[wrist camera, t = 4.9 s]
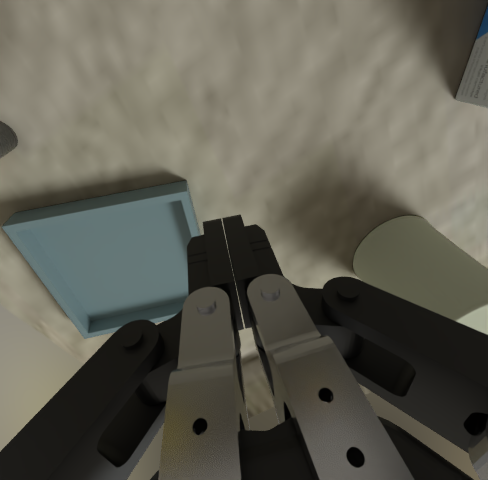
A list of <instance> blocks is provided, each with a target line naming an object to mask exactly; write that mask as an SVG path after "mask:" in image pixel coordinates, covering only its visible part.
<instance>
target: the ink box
mask: <svg viewBox="0 0 488 480" xmlns="http://www.w3.org/2000/svg"><path fill="white" fill-rule="evenodd" d="M456 100H457V101H461V102H465V103H469V104H473V105H477V106H481V107H485V108H488V6H487V9H486V12H485V15H484V18H483V21H482V24H481V26H480V29H479V32H478V35H477V38H476V41H475V44H474V47H473V49H472V52H471V55H470V58H469V61H468V64H467V67H466V69H465V72H464V75H463V78H462V81H461V84H460V86H459V89H458V92H457V95H456Z"/></svg>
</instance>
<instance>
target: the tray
mask: <svg viewBox="0 0 488 480" xmlns="http://www.w3.org/2000/svg"><path fill="white" fill-rule="evenodd" d="M2 228H3V229H4V231H5V232H6V233H7V235H8V236H9V237H10V239H11V240H12V242H13V243H14V244H15V246H16V247H17V248H18V250H19V251H20V252H21V254H22V255H23V256H24V258H25V259H26V260H27V262H28V263H29V264H30V266H31V267H32V268H33V270H34V271H35V273H36V274H37V275H38V277H39V278H40V279H41V281H42V282H43V283H44V285H45V286H46V287H47V289H48V290H49V291H50V293H51V294H52V295H53V297H54V298H55V299H56V301H57V302H58V304H59V305H60V306H61V308H62V309H63V310H64V312H65V313H66V314H67V316H68V317H69V318H70V320H71V321H72V322H73V324H74V325H75V326H76V328H77V329H78V330H79V332H80V333H81V335H82V336H83V337H84V339H86V338H90V337H95V336H99V335H104V334H108V333H113V332H116V331H117V330H118V329H119V328H120V327H122V326H123V325H125V324H127V323H129V322H131V321H135V320H141V319H144V320H149V321H151V322H153V323H157V322H161V321H166V320H168V319H170V318H172V317H173V316H175V315H176V314H178V313H179V312H180V311H181V310H182V309H183V304H184V302H185V300H186V298H187V297H188V266H187V265H188V264H187V258H188V257H187V245H188V243H189V242H190V240H191V238H192V237H195V236H200V231H199V227H198V223H197V219H196V215H195V211H194V207H193V203H192V200H191V196H190V192H189V188H188V184H187V180H186V181H180V182H175V183H170V184H165V185H159V186H154V187H149V188H143V189H138V190H133V191H128V192H122V193H117V194H112V195H106V196H101V197H96V198H91V199H85V200H80V201H75V202H69V203H64V204H59V205H54V206H48V207H43V208H38V209H32V210H27V211H22V212H17V213H14V214H13V215H12V216H11V217H10V218H9V219H8V220H7V222H6V223H5V224H4V225H3V226H2Z"/></svg>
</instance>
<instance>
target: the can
mask: <svg viewBox="0 0 488 480" xmlns="http://www.w3.org/2000/svg"><path fill="white" fill-rule="evenodd" d="M353 268H354V272H355V274H356V275H357V277H358V278H359V279H361V280H362V281H363V282H365V283H367V284H370V285H372V286H374V287H377V288H379V289H381V290H384V291H386V292H388V293H391V294H393V295H396V296H398V297H400V298H403V299H405V300H407V301H410V302H412V303H414V304H417V305H419V306H421V307H424V308H426V309H428V310H431V311H433V312H435V313H438V314H440V315H442V316H445V317H447V318H449V319H452V320H454V321H456V322H459V323H461V324H463V325H466V326H468V327H470V328H473V329H475V330H478V331H480V332H482V333H485V334H487V335H488V269H487V268H486V267H484V266H483V265H482V264H480V263H479V262H478V261H476V260H475V259H474V258H472V257H471V256H470V255H468V254H467V253H466V252H464V251H463V250H462V249H460V248H459V247H458V246H456V245H455V244H454V243H453V242H451V241H450V240H449V239H447V238H446V237H445V236H443V235H442V234H441V233H440V232H438V231H437V230H436V229H435V228H433V227H432V225H431V224H430V223H429V222H428V221H427V220H425V219H423V218H421V217H418V216H401V217H397V218H394V219H391V220H389V221H387V222H385V223H383V224H381V225H379V226H378V227H376V228H375V229H374V230H372V231H371V232H370V233H369V234H368V235H367V236H366V237H365V238H364V239H363V241H362V242H361V243H360V245H359V246H358V248H357V250H356V252H355V255H354V259H353Z"/></svg>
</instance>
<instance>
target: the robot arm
mask: <svg viewBox="0 0 488 480" xmlns="http://www.w3.org/2000/svg"><path fill="white" fill-rule="evenodd" d="M223 224H224V229H225V234H226V239H225V235H224V230H223V226H222V221H221V219H216V220H211V221H205V222H203V228H204V235H200V236H195V237H192V238H191V240H190V242H189V243H188V245H187V257H188V258H187V264H188V265H187V266H188V297H187V298H186V300H185V302H184V304H183V309H182V310H181V311H180V312H179V313H178V314H176V315H175V316H173V317H172V318H170V319H168V320H166V321H164V322H162V323H160V324H158V325H155V324H154V323H153V322H151V321H149V320H144V319H141V320H135V321H131V322H129V323H127V324H125V325H123V326H122V327H120V328H119V329H118V330H117V331H116V332H115V333H114V334H113V335H112V336H111V337H110V338H109V339H108V340H107V341H106V342H105V343H104V344H103V345H102V346H101V347H100V348H99V349H98V351H97V352H96V353H95V354H94V355H93V356H92V357H91V358H90V359H89V360H88V361H87V362H86V363H85V364H84V365H83V366H82V367H81V368H80V369H79V370H78V371H77V372H76V374H75V375H74V376H73V377H72V378H71V379H70V380H69V381H68V382H67V383H66V384H65V385H64V386H63V387H62V388H61V389H60V390H59V391H58V392H57V393H56V394H55V395H54V396H53V398H52V399H50V401H49V402H48V403H47V404H46V405H45V406H44V407H43V408H42V409H41V410H40V411H39V412H38V413H37V414H36V415H35V416H34V417H33V418H32V419H31V420H30V421H29V422H28V423H27V424H26V425H25V427H24V428H23V429H22V430H21V431H20V432H19V433H18V434H17V435H16V436H15V437H14V438H13V439H12V440H11V441H10V442H9V443H8V444H7V445H6V446H5V447H4V448H3V449H2V450H1V452H0V480H127V479H128V477H129V475H130V474H131V472H132V471H133V469H134V468H135V466H136V465H137V463H138V462H139V460H140V458H141V457H142V455H143V454H144V452H145V451H146V449H147V448H148V446H149V445H150V443H151V442H152V440H153V438H154V437H155V435H156V434H157V432H158V431H159V429H160V428H161V426H162V425H163V423H164V429H163V439H162V449H161V459H160V467H159V471H157V472H156V474H155V475H154V476H153V477H152V478H151V479H150V480H474V479H472V478H471V477H469V476H468V475H467V474H465V473H464V472H462V471H461V470H460V469H458V468H457V467H455V466H454V465H453V464H451V463H450V462H448V461H447V460H445V459H444V458H443V457H441V456H440V455H439V454H437V453H436V452H434V451H433V450H431V449H430V448H429V447H427V446H426V445H424V444H423V443H422V442H420V441H419V440H417V439H416V438H415V437H413V436H412V435H411V434H409V433H408V432H406V431H405V430H403V429H402V428H400V427H399V426H397V425H395V424H393V423H392V422H390V421H388V420H386V419H383V418H381V417H378V416H377V415H376V413H375V412H374V410H373V408H372V406H371V405H370V403H369V401H368V400H367V398H366V396H365V395H364V393H363V391H362V389H361V388H360V386H359V384H361V385H362V386H364V387H366V388H367V389H369V390H370V391H372V392H373V393H375V394H377V395H378V396H380V397H381V398H383V399H384V400H386V401H387V402H389V403H391V404H392V405H394V406H395V407H397V408H398V409H400V410H402V411H403V412H405V413H406V414H408V415H409V416H411V417H412V418H414V419H416V420H417V421H419V422H420V423H422V424H423V425H425V426H427V427H428V428H430V429H431V430H433V431H434V432H436V433H438V434H439V435H441V436H442V437H444V438H445V439H447V440H449V441H450V442H452V443H453V444H455V445H456V446H458V447H460V448H461V449H463V450H464V451H466V452H467V453H469V457H470V460H471V463H472V465H473V467H474V469H475V471H476V472H477V474H478V476H479V478H480V480H488V335H487V334H485V333H482V332H480V331H478V330H475V329H473V328H470V327H468V326H466V325H463V324H461V323H459V322H456V321H454V320H452V319H449V318H447V317H445V316H442V315H440V314H438V313H435V312H433V311H431V310H428V309H426V308H424V307H421V306H419V305H417V304H414V303H412V302H410V301H407V300H405V299H403V298H400V297H398V296H396V295H393V294H391V293H388V292H386V291H384V290H381V289H379V288H377V287H374V286H372V285H370V284H367V283H365V282H363V281H360V280H358V279H355V278H351V277H336V278H333V279H331V280H329V281H328V282H327V283H326V284H325V285H324V287H323V289H315V288H303V287H299V286H296V285H294V284H292V283H291V282H290V281H289V280H288V279H286V278H285V277H284V276H283V274H282V271H281V269H280V267H279V264H278V262H277V260H276V257H275V255H274V252H273V250H272V248H271V245H270V243H269V241H268V238H267V236H266V233H265V231H264V230H263V229H261V228H260V227H259V226H258V225H256V224H255V225H250V226H244V223H243V220H242V217H241V215H236V216H231V217H226V218H223ZM226 240H227V244H226ZM227 245H228V248H227ZM228 250H229V253H228ZM229 255H230V258H229ZM230 260H231V262H230ZM231 265H232V267H231ZM232 269H233V271H232ZM233 274H234V276H233ZM234 278H235V280H234ZM235 283H236V285H235ZM236 287H237V291H236ZM237 292H238V296H239V301H240V305H241V310H242V314H243V319H244V323H245V328H250V327H252V331H253V335H254V340H255V346H256V350H257V353H258V356H259V359H260V362H261V365H262V368H263V371H264V374H265V377H266V380H267V383H268V386H269V389H270V393H271V396H272V399H273V402H274V405H275V409H276V413H277V418H278V421H279V425H277V426H276V427H274V428H272V429H270V430H268V431H251V430H250V428H249V421H248V415H247V408H246V399H245V389H244V380H243V370H242V361H241V352H240V347H241V342H240V337H239V332H238V330H242V329H244V328H243V322H242V317H241V312H240V307H239V301H238V296H237ZM357 382H358V383H359V384H358V383H357Z"/></svg>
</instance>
